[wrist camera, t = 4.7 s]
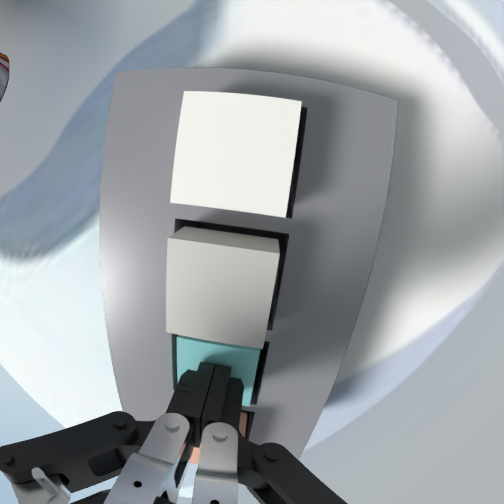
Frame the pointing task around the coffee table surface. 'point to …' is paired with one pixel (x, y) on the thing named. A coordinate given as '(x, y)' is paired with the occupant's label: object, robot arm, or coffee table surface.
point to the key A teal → (219, 359)
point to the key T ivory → (235, 152)
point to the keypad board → (284, 229)
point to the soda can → (3, 74)
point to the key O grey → (220, 285)
